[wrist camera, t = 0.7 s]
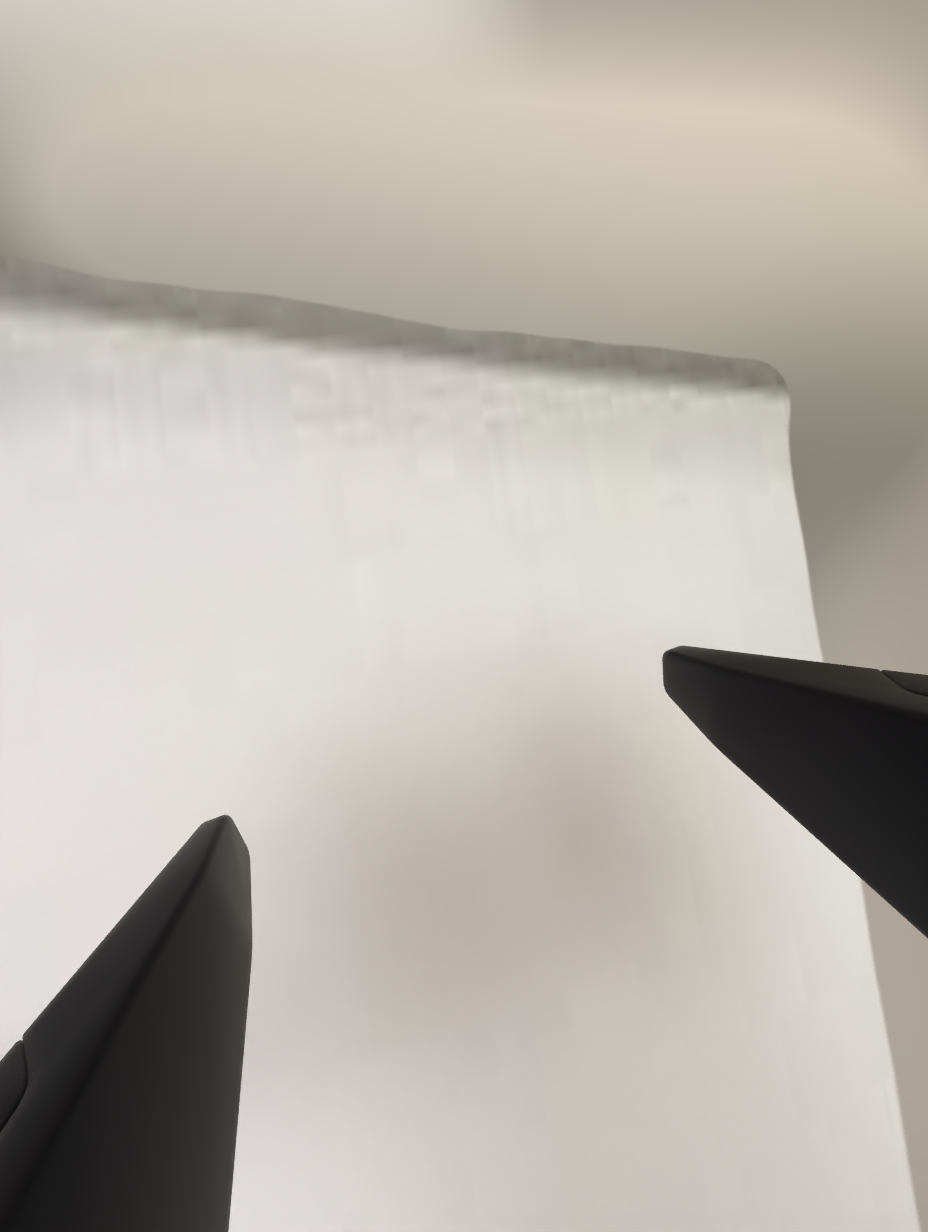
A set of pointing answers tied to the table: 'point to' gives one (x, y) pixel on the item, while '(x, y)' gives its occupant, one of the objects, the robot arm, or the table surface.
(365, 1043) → the table surface
